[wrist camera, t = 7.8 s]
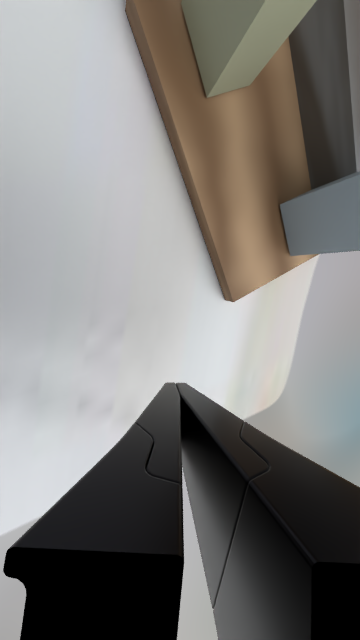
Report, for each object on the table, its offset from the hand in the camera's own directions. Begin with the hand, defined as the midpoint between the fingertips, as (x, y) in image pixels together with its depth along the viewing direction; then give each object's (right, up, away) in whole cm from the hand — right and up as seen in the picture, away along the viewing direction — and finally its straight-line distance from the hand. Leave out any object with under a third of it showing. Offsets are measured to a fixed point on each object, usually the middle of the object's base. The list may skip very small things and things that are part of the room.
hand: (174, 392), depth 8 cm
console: (+7, +18, +11) cm, 22 cm away
